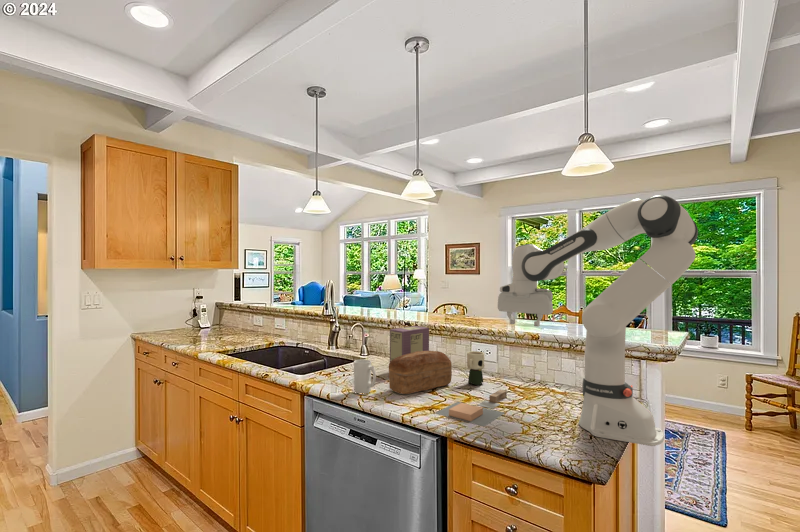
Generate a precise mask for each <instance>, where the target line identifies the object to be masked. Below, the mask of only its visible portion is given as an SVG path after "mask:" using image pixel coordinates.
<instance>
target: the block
mask: <svg viewBox="0 0 800 532" xmlns="http://www.w3.org/2000/svg"><path fill="white" fill-rule="evenodd" d="M464 403H465V402H462V403H460V404H458V405H456V406H454V407H452V408H450V409H449V416H453V417H456V418H460V419H464V420H468V421H472V420H474V419H475V418H477V417H479V416H481V415H482V414H483V408H484V407H483V408H481V407H482V406H478V405H474V406H472V405H473V404H470V405H468V404H469V403H466V404H464ZM477 406H478V407H477Z"/></svg>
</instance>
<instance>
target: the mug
mask: <svg viewBox="0 0 800 532" xmlns="http://www.w3.org/2000/svg"><path fill="white" fill-rule="evenodd" d="M372 375H373V377H372ZM376 380H377V374H376V369H375V366H374V365H372V361H371V359H364V358H363V359H361V358H360V359H355V360H354V361H353V386H354V388H353V389H354V391H355V392H356V393H368V394H370V393H371V392H372V391H371V389H372V388H374V387H375V384H376ZM370 391H371V392H370ZM355 392H354V393H355ZM369 392H370V393H369ZM356 393H355V394H356Z"/></svg>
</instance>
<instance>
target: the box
mask: <svg viewBox="0 0 800 532" xmlns="http://www.w3.org/2000/svg"><path fill="white" fill-rule="evenodd" d="M416 351H430V328H429V327H425V326H418V325H412V326H411V325H410V326H405V327H398V328H397V327H396V328H391V329H389V363H390V362H391V361H392V360H393V359H394V358H396V357H399V356H402V355H405V354H409V353H413V352H416Z"/></svg>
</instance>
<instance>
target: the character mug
mask: <svg viewBox="0 0 800 532" xmlns="http://www.w3.org/2000/svg"><path fill="white" fill-rule="evenodd" d="M466 358H467V359H466V367H467V368H468V369H469V373H468V383H469V384H473V385H477V386H479V385H483V383H484V376H483V371H482V370H483V369H485V359H486V358H485V352H483V351H478V350H476V351H475V350H474V351H467V354H466Z"/></svg>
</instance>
